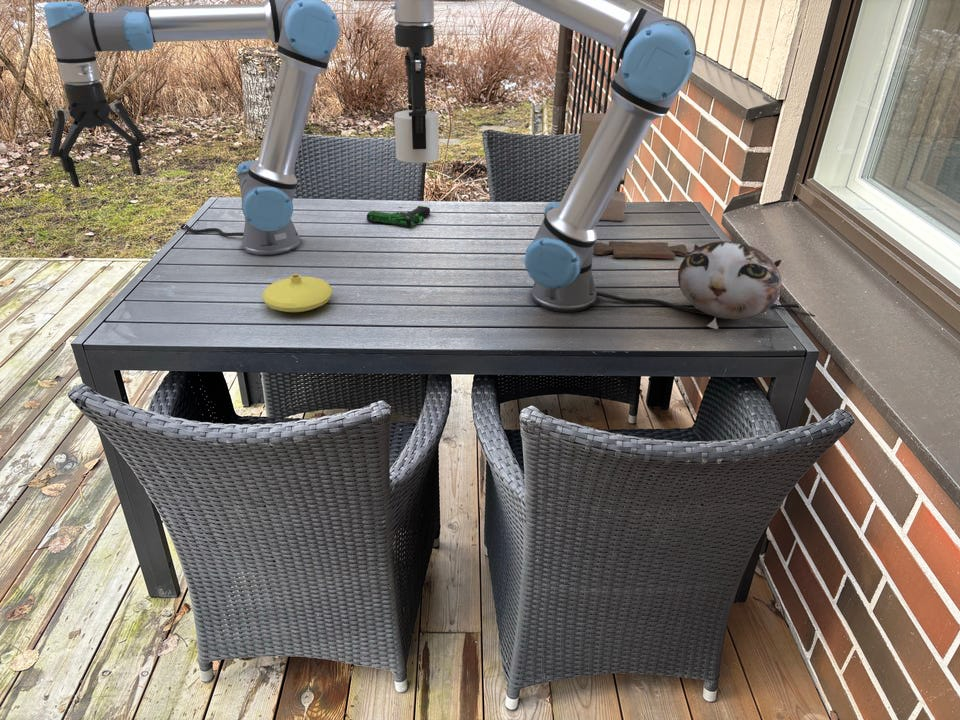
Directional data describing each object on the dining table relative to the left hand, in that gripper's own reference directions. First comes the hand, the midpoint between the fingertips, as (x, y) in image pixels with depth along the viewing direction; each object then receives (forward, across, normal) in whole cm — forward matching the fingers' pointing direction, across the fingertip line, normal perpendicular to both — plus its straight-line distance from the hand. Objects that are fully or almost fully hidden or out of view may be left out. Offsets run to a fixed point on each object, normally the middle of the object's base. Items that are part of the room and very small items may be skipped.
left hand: (107, 180), depth 164 cm
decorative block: (+25, +122, -50) cm, 135 cm away
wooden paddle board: (+25, +107, -76) cm, 134 cm away
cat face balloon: (+25, +89, -111) cm, 144 cm away
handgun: (+25, +76, -11) cm, 81 cm away
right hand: (-12, +44, -59) cm, 74 cm away
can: (-9, +43, -59) cm, 74 cm away
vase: (+25, +22, -40) cm, 52 cm away
